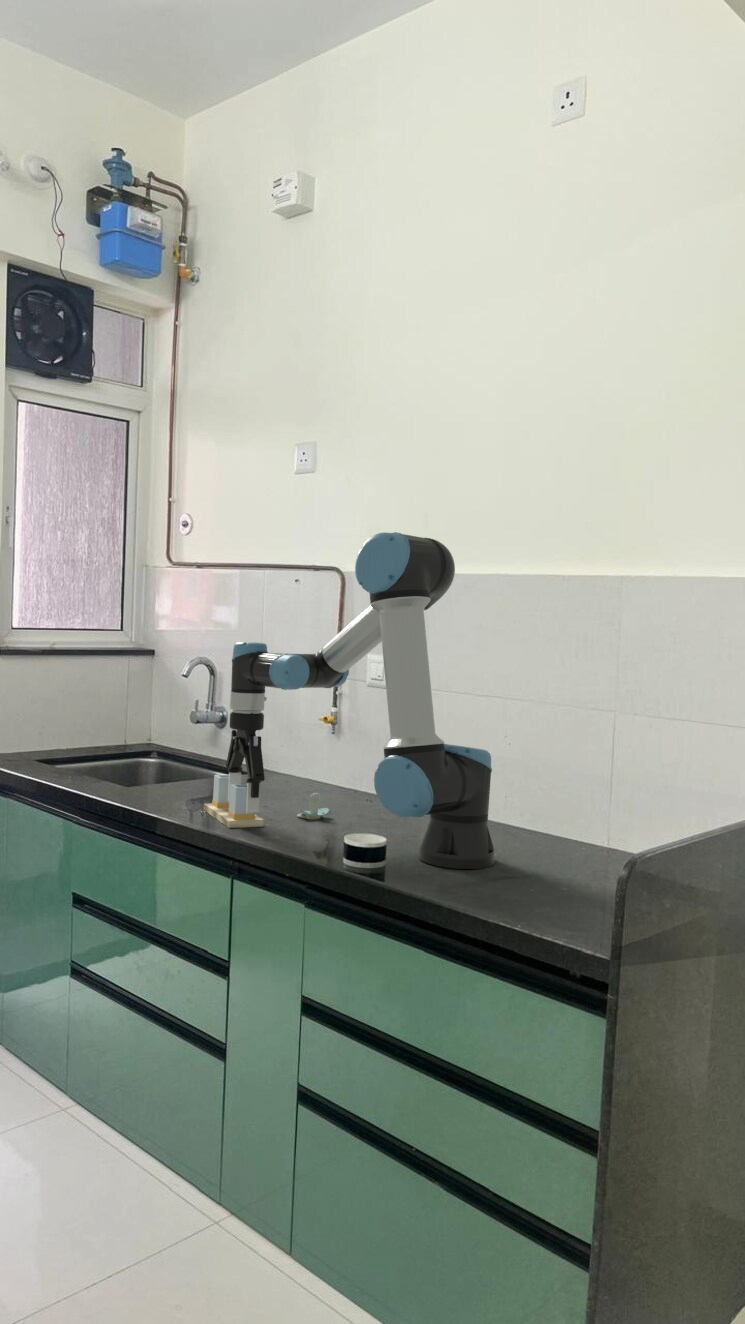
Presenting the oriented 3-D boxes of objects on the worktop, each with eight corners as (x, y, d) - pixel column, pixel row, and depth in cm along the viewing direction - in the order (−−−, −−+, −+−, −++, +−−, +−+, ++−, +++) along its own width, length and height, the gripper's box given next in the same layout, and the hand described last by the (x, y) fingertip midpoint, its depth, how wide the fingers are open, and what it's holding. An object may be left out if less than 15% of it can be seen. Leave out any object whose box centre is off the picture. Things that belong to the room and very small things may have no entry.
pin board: (263, 826, 224) (264, 797, 223) (228, 827, 220) (230, 798, 220) (236, 809, 242) (237, 782, 242) (203, 809, 238) (205, 782, 238)
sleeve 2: (254, 818, 224) (256, 787, 224) (234, 819, 222) (235, 788, 222) (247, 814, 228) (249, 784, 228) (227, 815, 226) (229, 784, 226)
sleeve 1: (237, 807, 236) (238, 777, 236) (217, 808, 234) (219, 778, 234) (231, 803, 240) (232, 774, 240) (211, 804, 238) (213, 774, 238)
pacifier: (291, 817, 237) (304, 821, 232) (292, 790, 237) (305, 794, 232) (317, 815, 242) (331, 819, 237) (318, 789, 241) (332, 792, 237)
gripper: (282, 717, 214) (277, 816, 215) (246, 706, 237) (242, 796, 238) (248, 717, 211) (243, 817, 212) (215, 706, 234) (211, 797, 235)
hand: (242, 806), depth 225 cm, fingers open, 13 cm apart
